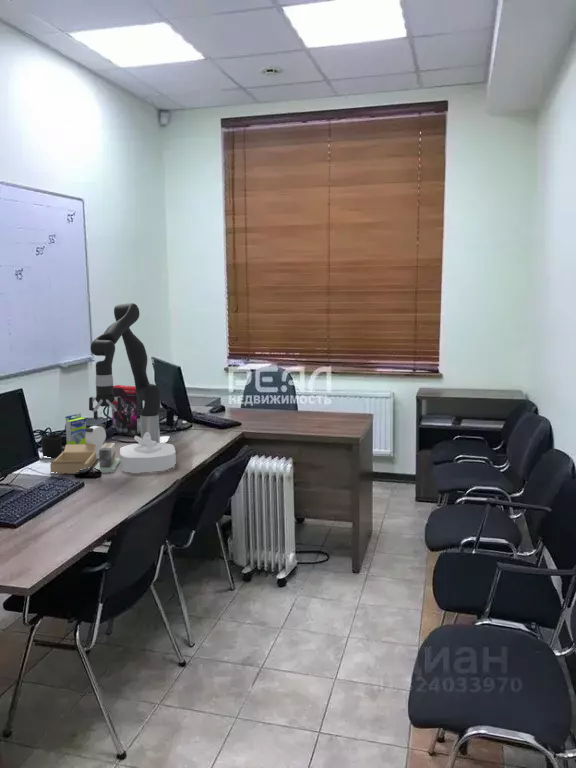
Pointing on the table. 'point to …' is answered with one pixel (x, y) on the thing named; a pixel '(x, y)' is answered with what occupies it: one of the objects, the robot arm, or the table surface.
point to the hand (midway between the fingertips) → (106, 419)
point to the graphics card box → (127, 411)
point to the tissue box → (147, 455)
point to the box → (75, 429)
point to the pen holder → (52, 445)
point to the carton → (74, 458)
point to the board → (108, 469)
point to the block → (107, 454)
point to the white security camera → (96, 437)
